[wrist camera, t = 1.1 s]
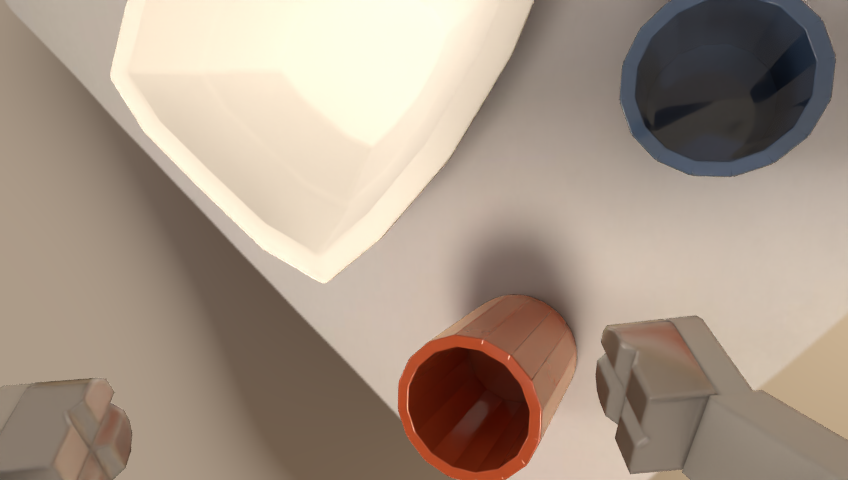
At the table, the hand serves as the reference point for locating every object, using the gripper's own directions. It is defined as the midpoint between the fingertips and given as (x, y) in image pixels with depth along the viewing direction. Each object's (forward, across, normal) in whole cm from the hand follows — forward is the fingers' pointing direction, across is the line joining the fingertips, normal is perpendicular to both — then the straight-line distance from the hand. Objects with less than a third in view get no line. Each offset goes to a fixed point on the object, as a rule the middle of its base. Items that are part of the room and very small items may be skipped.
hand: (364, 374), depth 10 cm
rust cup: (+19, -8, +20) cm, 28 cm away
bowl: (+32, 0, +5) cm, 33 cm away
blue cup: (+21, -18, +6) cm, 28 cm away
